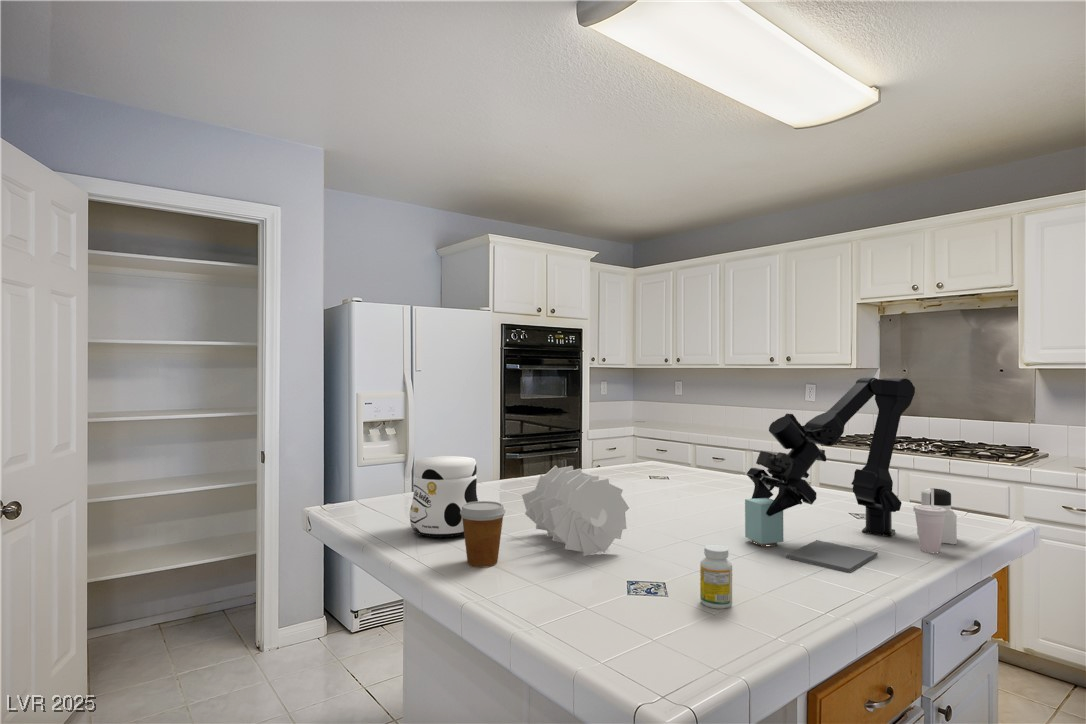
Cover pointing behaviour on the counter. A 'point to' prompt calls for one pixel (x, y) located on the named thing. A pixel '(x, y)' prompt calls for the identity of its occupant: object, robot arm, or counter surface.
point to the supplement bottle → (716, 577)
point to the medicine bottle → (950, 521)
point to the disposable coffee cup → (482, 531)
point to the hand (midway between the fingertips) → (758, 511)
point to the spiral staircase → (577, 509)
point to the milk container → (442, 494)
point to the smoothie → (930, 525)
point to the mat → (832, 555)
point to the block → (765, 544)
